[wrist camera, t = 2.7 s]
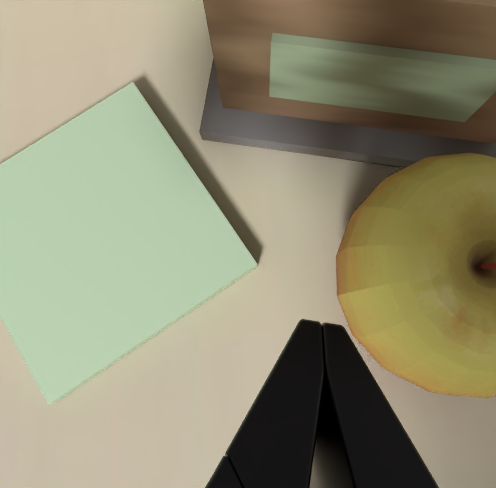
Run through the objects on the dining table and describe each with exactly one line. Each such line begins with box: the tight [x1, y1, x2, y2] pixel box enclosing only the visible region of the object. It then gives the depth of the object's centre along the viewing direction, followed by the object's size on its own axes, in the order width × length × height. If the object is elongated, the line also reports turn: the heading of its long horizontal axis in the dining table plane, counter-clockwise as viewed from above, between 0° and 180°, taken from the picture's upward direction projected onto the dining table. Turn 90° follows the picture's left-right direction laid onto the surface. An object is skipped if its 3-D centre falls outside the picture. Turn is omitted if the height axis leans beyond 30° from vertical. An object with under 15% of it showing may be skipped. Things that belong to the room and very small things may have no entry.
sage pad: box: [0, 82, 258, 405], centre depth 22 cm, size 12×12×1 cm
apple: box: [336, 153, 496, 398], centre depth 18 cm, size 10×10×8 cm
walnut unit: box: [199, 0, 496, 167], centre depth 19 cm, size 16×8×10 cm, turn 81°
